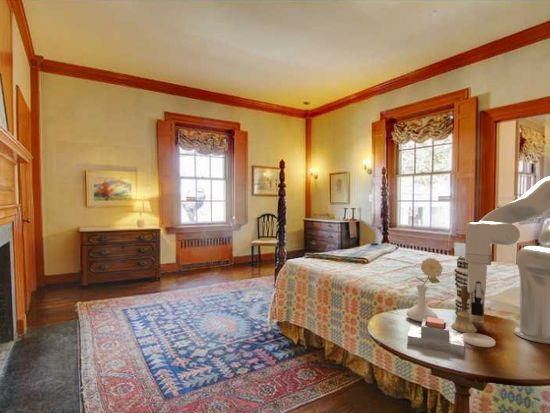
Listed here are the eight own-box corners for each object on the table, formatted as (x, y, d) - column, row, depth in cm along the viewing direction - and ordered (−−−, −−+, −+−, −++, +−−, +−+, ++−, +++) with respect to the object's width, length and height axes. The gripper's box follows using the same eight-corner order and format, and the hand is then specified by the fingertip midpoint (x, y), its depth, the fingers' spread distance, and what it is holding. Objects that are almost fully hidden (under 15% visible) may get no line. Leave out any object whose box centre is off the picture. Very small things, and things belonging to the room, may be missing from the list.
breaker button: (444, 332, 108) (444, 319, 108) (443, 337, 104) (443, 324, 104) (427, 329, 111) (427, 316, 110) (426, 334, 106) (426, 321, 106)
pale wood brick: (482, 320, 110) (483, 290, 110) (483, 323, 107) (484, 293, 107) (469, 317, 112) (469, 289, 112) (469, 321, 109) (470, 291, 109)
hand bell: (477, 327, 122) (477, 285, 122) (476, 334, 115) (477, 289, 115) (451, 322, 126) (452, 282, 126) (450, 329, 119) (450, 286, 119)
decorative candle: (474, 324, 125) (475, 259, 125) (449, 317, 133) (450, 256, 132) (484, 319, 131) (485, 257, 130) (460, 312, 138) (461, 254, 138)
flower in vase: (404, 321, 127) (405, 258, 127) (407, 313, 138) (408, 254, 137) (442, 327, 121) (442, 260, 121) (442, 318, 131) (443, 256, 131)
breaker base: (462, 343, 108) (463, 323, 108) (463, 355, 99) (464, 334, 99) (410, 333, 115) (411, 315, 115) (407, 344, 107) (407, 324, 107)
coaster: (486, 335, 114) (486, 333, 114) (501, 348, 104) (501, 345, 104) (455, 333, 116) (455, 331, 116) (468, 346, 106) (468, 343, 106)
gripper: (464, 254, 119) (463, 304, 119) (465, 261, 104) (464, 318, 104) (488, 256, 115) (487, 308, 115) (494, 263, 100) (492, 323, 101)
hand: (476, 312), depth 110 cm, fingers closed on pale wood brick, 4 cm apart
